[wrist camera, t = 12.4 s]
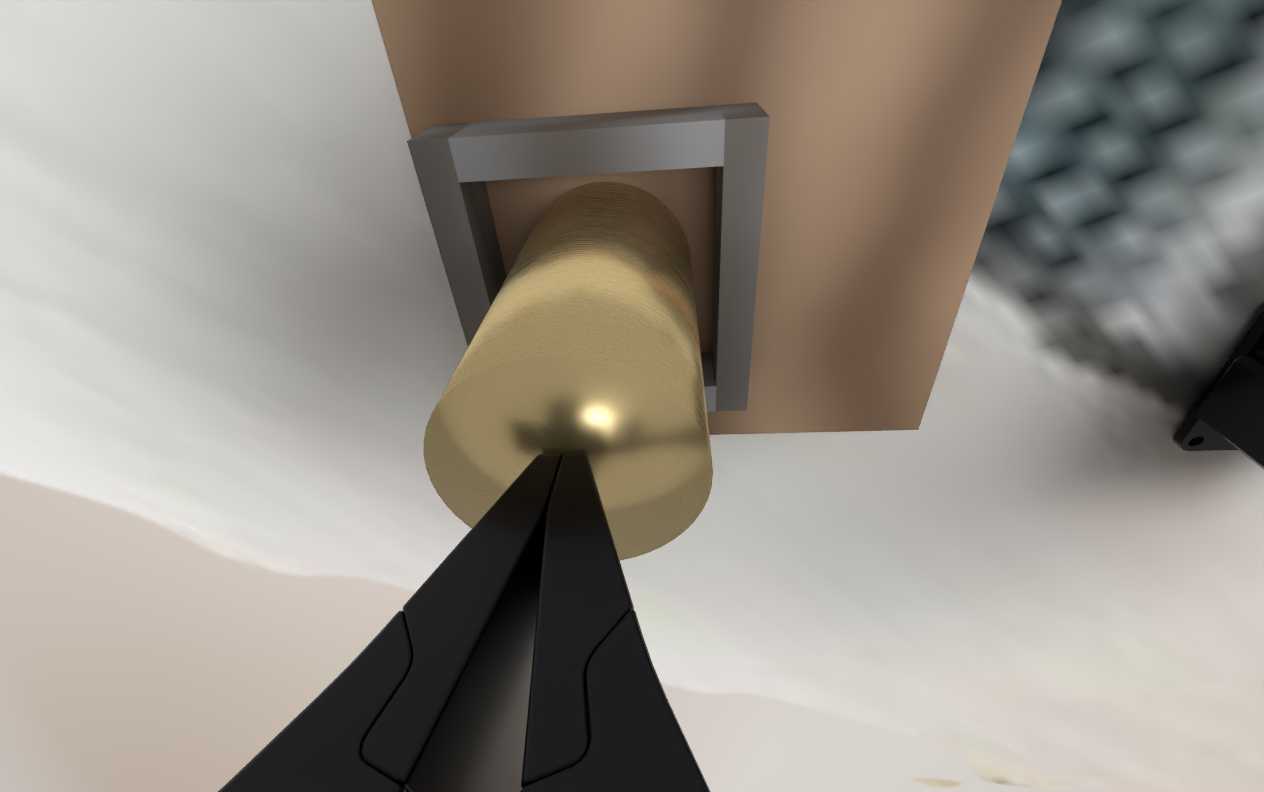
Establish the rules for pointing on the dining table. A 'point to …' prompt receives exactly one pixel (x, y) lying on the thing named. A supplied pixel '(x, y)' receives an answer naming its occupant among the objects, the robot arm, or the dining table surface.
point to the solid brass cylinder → (586, 371)
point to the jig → (738, 169)
